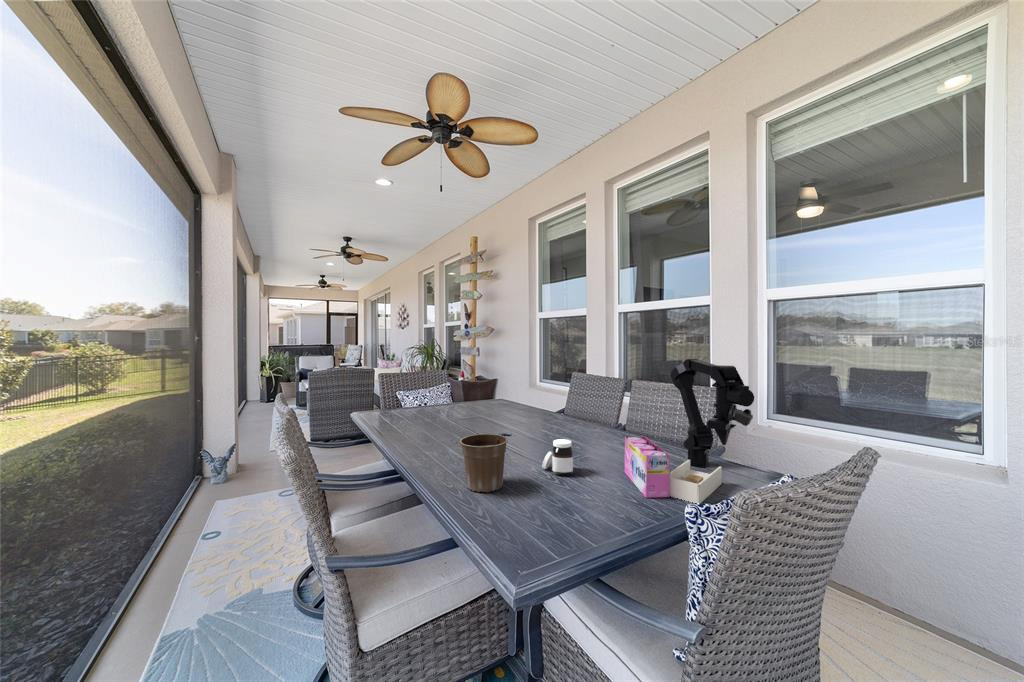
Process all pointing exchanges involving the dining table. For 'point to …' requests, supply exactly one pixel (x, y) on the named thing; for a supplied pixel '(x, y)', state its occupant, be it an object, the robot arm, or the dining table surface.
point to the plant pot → (484, 461)
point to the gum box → (647, 466)
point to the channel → (693, 490)
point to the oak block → (694, 478)
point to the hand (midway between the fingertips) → (724, 444)
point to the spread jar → (560, 457)
